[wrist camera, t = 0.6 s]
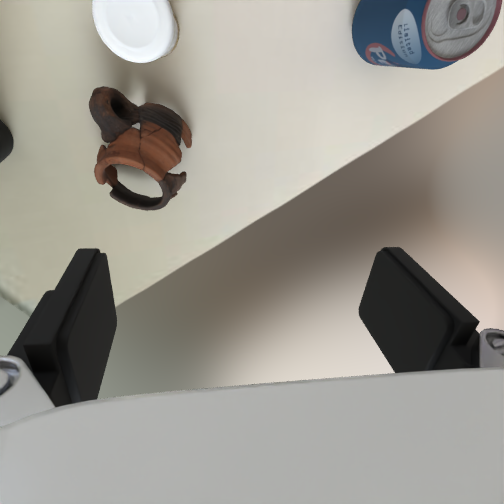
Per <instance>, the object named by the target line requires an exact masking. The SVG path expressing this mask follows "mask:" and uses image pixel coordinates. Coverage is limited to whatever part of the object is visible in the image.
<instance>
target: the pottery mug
mask: <svg viewBox="0 0 504 504" xmlns="http://www.w3.org/2000/svg"><path fill="white" fill-rule="evenodd" d="M89 108H90V112H91V115H92V117H93V119H94V121H95V122H96V123H97V124H98V126H99V127H100V129H101V135H102V139H103V140H104V141H105V142H107V143H109V142H110V144H109V145H108V148H106V146H105V145H101V147H100V149H99V152H98V155H97V164H96V166H95V169H94V173H95V177H96V180H97V182H98V183H99V184H102V185H103V184H105V183H106V182H107V183H108V184H109V185H110V186H111V187H112V188H113V189H112V191H111V192H110V196H111V197H112V198H113V199H115V200H117V201H118V202H120V203H122V204H124V205H127V206H129V207H132V208H136V209H141V210H147V211H148V210H158V209H161V208H163V207H165V206H166V205H167V203H168V202H169V200H170V199H172V198H173V197H175V196H176V195H177V194H178V193H177V191H178V190H179V189H180V188H181V186H182V184H184V183H185V182H186V172H182V173H180V174H171V173H168V171H169V170H171V169H172V168H173V167H174V166H176V165H177V164H178V163H179V162H181V157H182V152H181V150H180V148H179V145H180V143H181V138H182V139H183V141H184V143H185V145H186V147H187V148H190V147H191V145H192V139H191V138H192V134H191V131H190V129H189V127H188V126H187V124H186V123H185V122H184V120H183V119H182V118H181V117H180V116H179V115H178V114H176V113H175V112H174V111H173V110H171V109H169V108H167V107H165V106H163V105H160V104H154V103H145V104H144V105H141V106H139V107H138V106H137V105H135V104H133V103H131V102H130V101H129V100H128V99H127V98H126V97H125V96H124V95H123V94H122V93H121V92H119V91H118V90H116V89H114V88H109V87H104V86H103V87H100V88H96V89H94V90H93V93H92V96H91V98H90V101H89ZM136 123H140V130H138V129H136V128H132V125H134V124H136ZM111 164H124V165H129V166H133V167H136V168H138V169H140V170H143V171H144V172H146V173H147V174H149V175H150V176H151V177H152V178H154V179H155V180H156V181H157V182H158V183H159V185H160V187H161V189H162V192H163V196H162V197H156V198H150V197H148V196H144V195H140V194H137V193H134V192H132V191H130V190H129V189H127V188H126V187H125V186H124V185H122V184H121V183H120V182H119V181H118V179H117V169H116V168H115V167H114V166H113V165H111Z"/></svg>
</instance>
